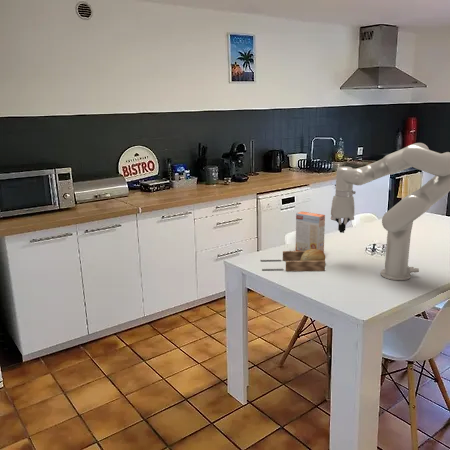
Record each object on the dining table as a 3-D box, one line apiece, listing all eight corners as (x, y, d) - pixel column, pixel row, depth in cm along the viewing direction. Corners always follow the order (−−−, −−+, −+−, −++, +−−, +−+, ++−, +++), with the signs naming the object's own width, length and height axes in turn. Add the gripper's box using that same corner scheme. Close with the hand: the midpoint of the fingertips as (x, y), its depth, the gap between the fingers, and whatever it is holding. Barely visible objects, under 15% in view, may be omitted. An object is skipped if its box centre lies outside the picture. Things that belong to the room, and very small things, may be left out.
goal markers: (280, 260, 223) (280, 259, 223) (283, 270, 210) (283, 269, 210) (260, 260, 224) (260, 259, 224) (262, 270, 210) (262, 269, 210)
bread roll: (330, 263, 218) (331, 248, 216) (312, 271, 208) (312, 255, 206) (314, 259, 224) (315, 244, 222) (295, 266, 215) (295, 250, 213)
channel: (318, 259, 224) (319, 250, 222) (324, 270, 208) (325, 261, 207) (282, 259, 224) (282, 251, 223) (285, 271, 209) (286, 261, 208)
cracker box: (324, 253, 232) (325, 214, 227) (318, 256, 228) (319, 216, 222) (301, 248, 241) (302, 210, 236) (295, 251, 237) (295, 212, 232)
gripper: (358, 192, 210) (355, 229, 215) (325, 192, 211) (324, 229, 215) (362, 195, 203) (359, 234, 208) (329, 195, 203) (327, 234, 208)
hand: (341, 231), depth 212 cm, fingers closed
